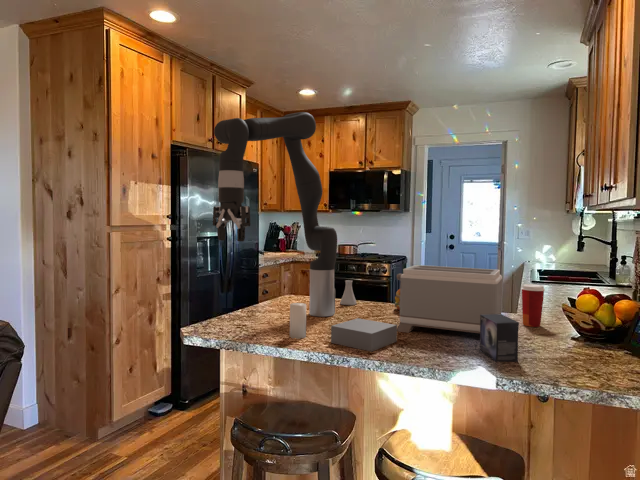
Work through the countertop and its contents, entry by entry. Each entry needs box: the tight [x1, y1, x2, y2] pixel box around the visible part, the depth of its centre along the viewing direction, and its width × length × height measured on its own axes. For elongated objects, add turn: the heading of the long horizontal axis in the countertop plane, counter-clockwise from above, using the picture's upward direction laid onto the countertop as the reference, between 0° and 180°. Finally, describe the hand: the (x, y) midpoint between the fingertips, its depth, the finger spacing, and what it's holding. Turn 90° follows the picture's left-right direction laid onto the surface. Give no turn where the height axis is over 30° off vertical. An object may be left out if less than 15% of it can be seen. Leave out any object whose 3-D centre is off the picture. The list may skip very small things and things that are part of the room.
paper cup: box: [520, 283, 546, 328], centre depth 165 cm, size 8×8×14 cm
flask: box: [339, 279, 358, 306], centre depth 202 cm, size 7×7×10 cm
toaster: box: [396, 264, 503, 334], centre depth 156 cm, size 19×34×20 cm, turn 64°
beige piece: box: [289, 302, 307, 340], centre depth 145 cm, size 5×5×10 cm
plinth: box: [330, 317, 398, 353], centre depth 140 cm, size 14×14×5 cm
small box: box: [479, 313, 520, 363], centre depth 128 cm, size 11×6×10 cm, turn 5°
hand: (231, 240), depth 142 cm, fingers open, 8 cm apart
